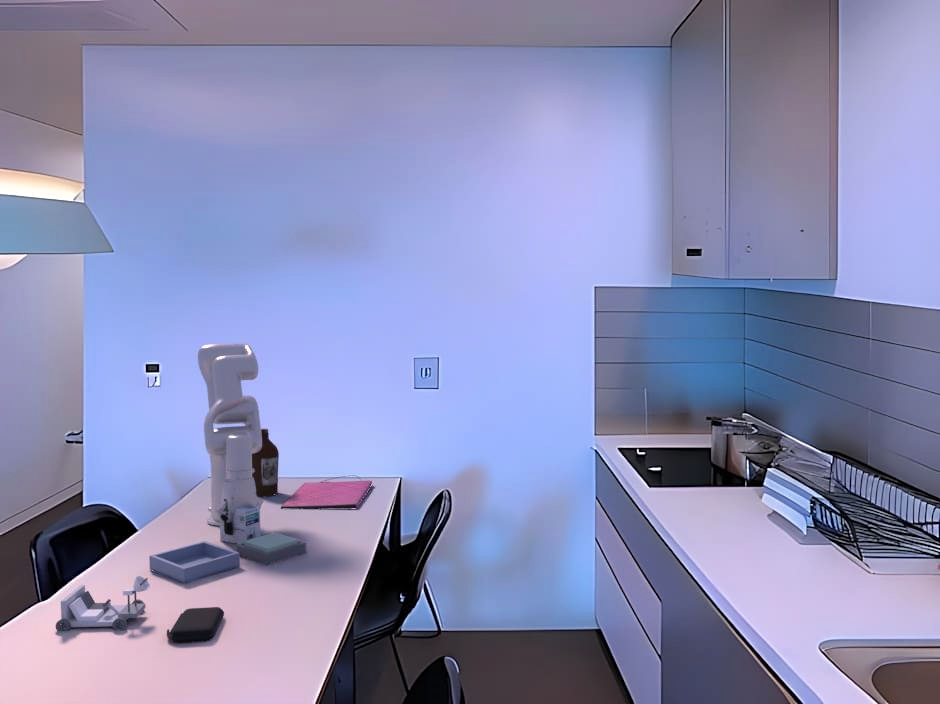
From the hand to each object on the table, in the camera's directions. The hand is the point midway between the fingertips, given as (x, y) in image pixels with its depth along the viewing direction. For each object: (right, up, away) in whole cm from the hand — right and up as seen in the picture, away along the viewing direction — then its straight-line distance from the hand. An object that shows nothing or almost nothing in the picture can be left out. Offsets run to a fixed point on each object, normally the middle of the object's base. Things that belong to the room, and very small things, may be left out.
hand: (240, 530), depth 240 cm
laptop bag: (+18, 0, +57) cm, 60 cm away
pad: (+13, -1, -13) cm, 18 cm away
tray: (-5, -5, -25) cm, 26 cm away
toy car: (-13, -7, -60) cm, 62 cm away
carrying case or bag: (+9, -8, -65) cm, 66 cm away
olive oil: (-8, 0, +59) cm, 60 cm away
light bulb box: (0, -3, 0) cm, 3 cm away
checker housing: (+13, -4, -13) cm, 18 cm away
